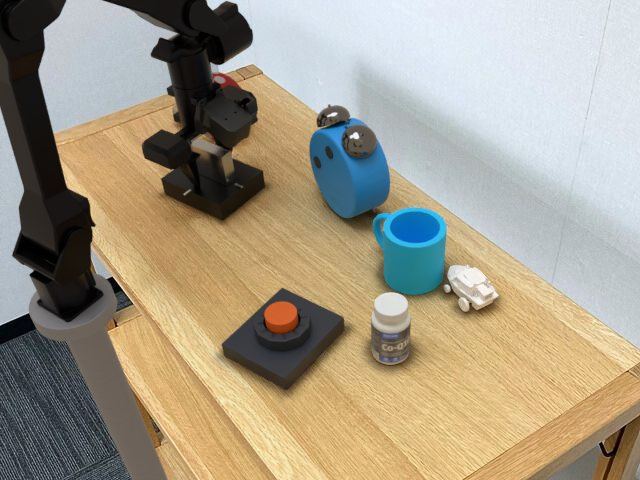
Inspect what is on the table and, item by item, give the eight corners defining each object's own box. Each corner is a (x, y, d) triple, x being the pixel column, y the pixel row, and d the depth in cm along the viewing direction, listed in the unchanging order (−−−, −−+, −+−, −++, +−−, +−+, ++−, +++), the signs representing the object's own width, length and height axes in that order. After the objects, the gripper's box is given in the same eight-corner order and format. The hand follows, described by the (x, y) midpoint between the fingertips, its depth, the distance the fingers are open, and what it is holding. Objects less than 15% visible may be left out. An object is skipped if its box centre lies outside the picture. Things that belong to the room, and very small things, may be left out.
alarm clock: (391, 221, 111) (392, 131, 99) (356, 237, 108) (352, 147, 97) (344, 178, 118) (339, 90, 107) (310, 192, 116) (302, 103, 105)
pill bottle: (382, 371, 92) (381, 323, 85) (365, 345, 95) (363, 297, 88) (416, 357, 93) (418, 309, 87) (398, 332, 96) (399, 284, 89)
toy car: (471, 320, 97) (474, 297, 94) (435, 284, 101) (436, 261, 98) (501, 305, 98) (504, 282, 95) (463, 270, 103) (466, 247, 100)
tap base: (270, 183, 118) (268, 166, 116) (218, 225, 112) (214, 208, 109) (212, 159, 123) (209, 142, 121) (159, 198, 116) (154, 181, 114)
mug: (456, 274, 102) (460, 227, 96) (412, 303, 99) (414, 256, 93) (395, 233, 109) (396, 186, 103) (352, 259, 105) (350, 212, 99)
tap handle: (236, 179, 114) (230, 149, 110) (227, 186, 113) (221, 156, 109) (197, 163, 117) (190, 133, 113) (188, 169, 116) (181, 139, 112)
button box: (286, 390, 90) (283, 368, 87) (224, 355, 94) (218, 334, 91) (344, 329, 97) (343, 307, 94) (283, 299, 101) (280, 277, 98)
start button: (284, 339, 91) (283, 329, 90) (259, 326, 93) (257, 316, 91) (304, 319, 93) (303, 309, 92) (279, 306, 95) (278, 296, 93)
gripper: (188, 128, 95) (210, 225, 107) (280, 65, 105) (291, 160, 117) (126, 103, 100) (154, 200, 111) (220, 45, 109) (236, 139, 121)
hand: (212, 174), depth 115 cm, fingers open, 6 cm apart
